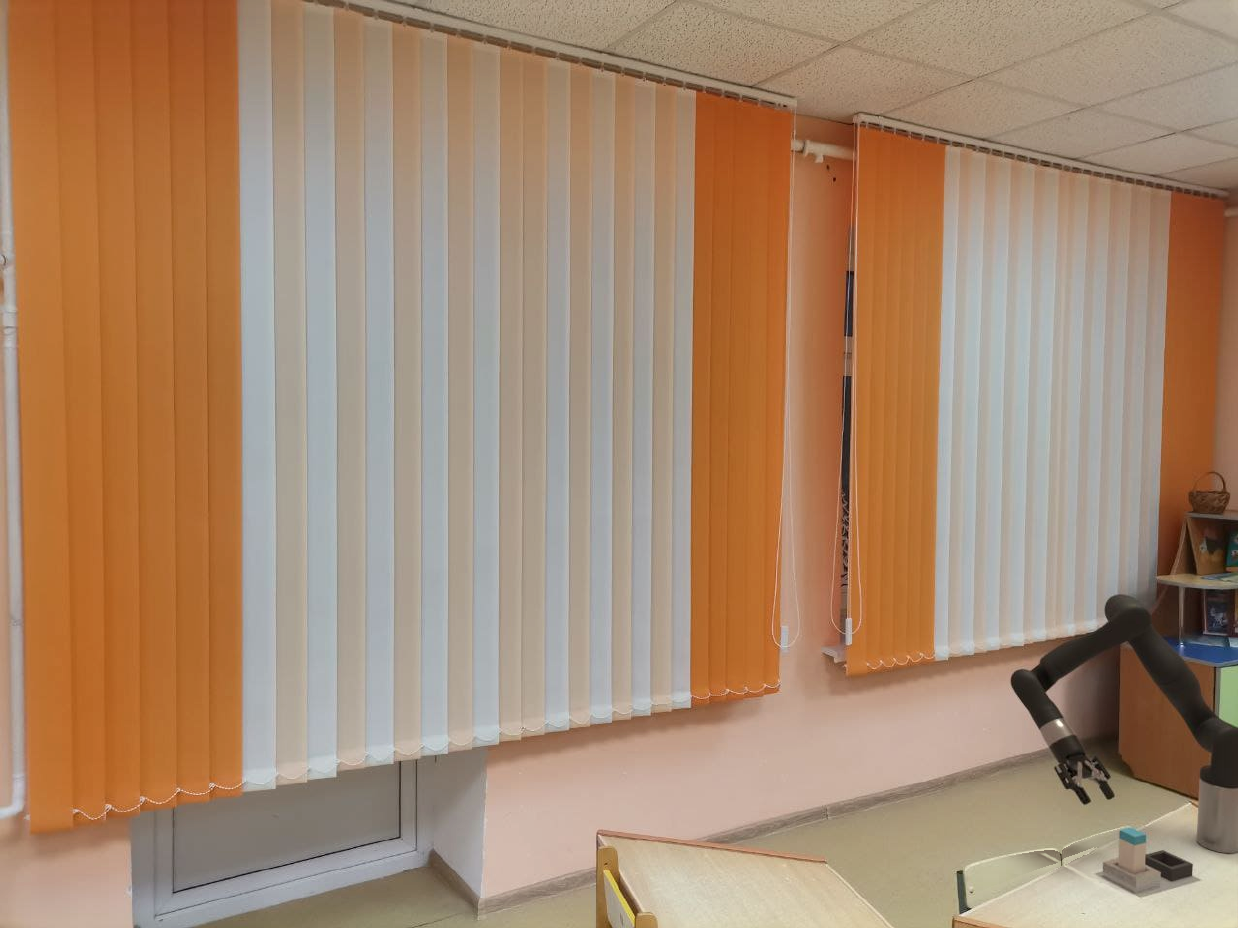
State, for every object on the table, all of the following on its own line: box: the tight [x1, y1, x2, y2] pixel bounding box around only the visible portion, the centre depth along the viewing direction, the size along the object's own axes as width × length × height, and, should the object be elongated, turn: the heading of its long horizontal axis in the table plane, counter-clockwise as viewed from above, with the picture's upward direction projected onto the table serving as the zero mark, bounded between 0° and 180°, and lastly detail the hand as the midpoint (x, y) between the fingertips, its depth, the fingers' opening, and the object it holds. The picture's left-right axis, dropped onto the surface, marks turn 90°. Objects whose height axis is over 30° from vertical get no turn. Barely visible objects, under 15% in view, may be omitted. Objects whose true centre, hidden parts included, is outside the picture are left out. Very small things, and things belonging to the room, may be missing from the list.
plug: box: [1117, 827, 1147, 875], centre depth 213 cm, size 4×4×12 cm
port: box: [1102, 857, 1161, 893], centre depth 213 cm, size 9×9×4 cm
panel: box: [1094, 870, 1202, 899], centre depth 215 cm, size 22×12×1 cm, turn 114°
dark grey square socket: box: [1145, 849, 1194, 882], centre depth 218 cm, size 8×8×3 cm
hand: (1099, 800), depth 221 cm, fingers open, 8 cm apart
